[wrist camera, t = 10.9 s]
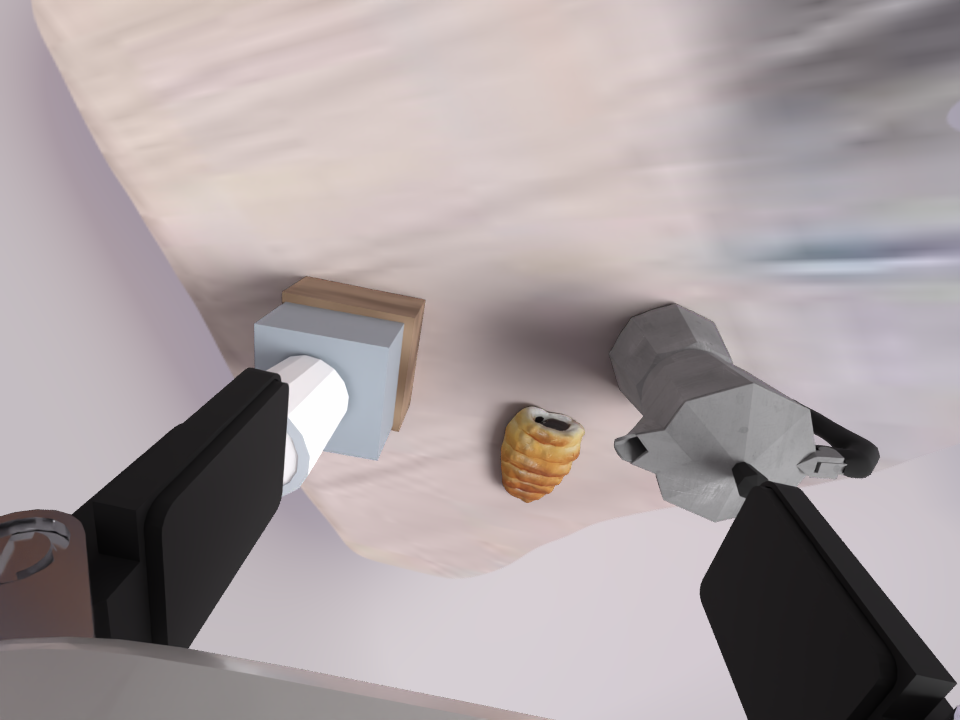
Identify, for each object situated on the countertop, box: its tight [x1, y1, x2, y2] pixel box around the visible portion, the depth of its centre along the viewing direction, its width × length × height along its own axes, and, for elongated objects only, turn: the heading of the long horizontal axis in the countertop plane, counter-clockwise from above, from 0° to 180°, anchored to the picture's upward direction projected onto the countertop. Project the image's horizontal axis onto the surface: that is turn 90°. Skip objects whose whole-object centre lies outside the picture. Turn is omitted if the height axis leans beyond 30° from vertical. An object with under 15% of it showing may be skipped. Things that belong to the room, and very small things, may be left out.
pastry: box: [501, 406, 585, 503], centre depth 46 cm, size 9×7×4 cm
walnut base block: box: [282, 276, 425, 432], centre depth 42 cm, size 10×10×5 cm
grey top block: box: [254, 302, 404, 461], centre depth 38 cm, size 9×9×5 cm
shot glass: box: [266, 355, 349, 497], centre depth 32 cm, size 7×7×7 cm
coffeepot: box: [609, 304, 880, 522], centre depth 35 cm, size 15×9×18 cm, turn 88°
